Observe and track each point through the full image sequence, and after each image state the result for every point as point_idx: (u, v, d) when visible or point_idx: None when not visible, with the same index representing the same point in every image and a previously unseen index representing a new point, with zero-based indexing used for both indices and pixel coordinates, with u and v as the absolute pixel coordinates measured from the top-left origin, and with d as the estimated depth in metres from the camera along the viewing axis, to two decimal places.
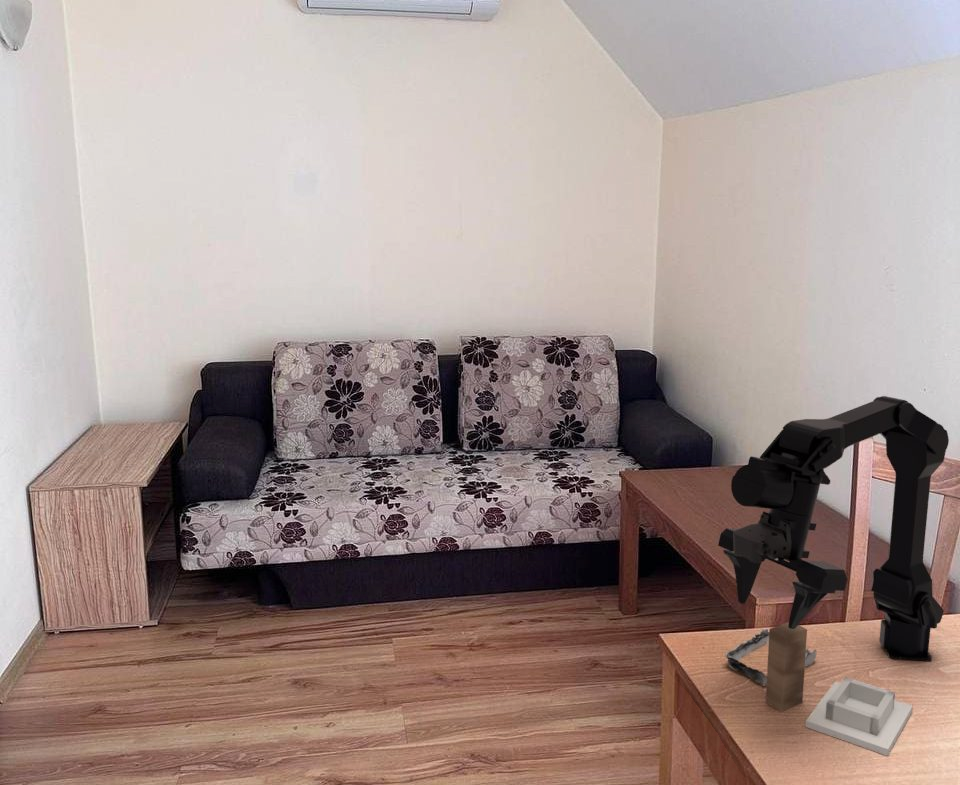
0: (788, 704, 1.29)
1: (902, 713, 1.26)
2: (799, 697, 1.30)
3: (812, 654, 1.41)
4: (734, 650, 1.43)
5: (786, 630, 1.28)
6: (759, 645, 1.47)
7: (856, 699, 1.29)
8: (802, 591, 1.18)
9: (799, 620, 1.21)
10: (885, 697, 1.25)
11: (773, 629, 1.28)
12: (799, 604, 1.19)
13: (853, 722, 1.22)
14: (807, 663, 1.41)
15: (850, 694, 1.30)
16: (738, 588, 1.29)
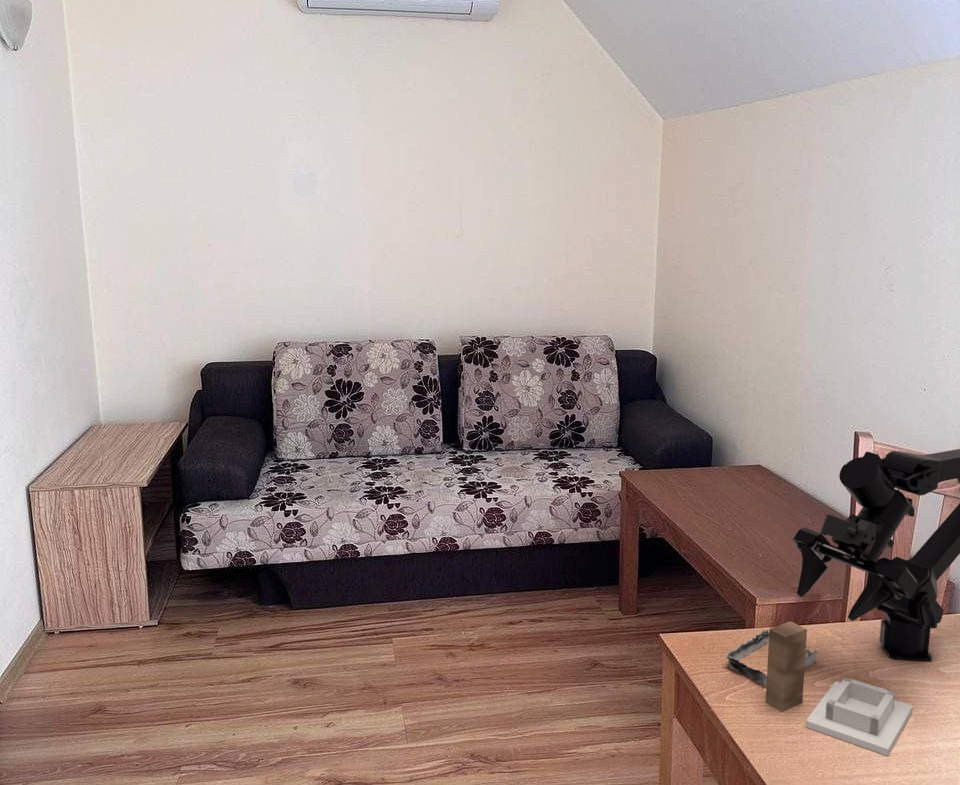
0: (788, 704, 1.29)
1: (902, 713, 1.26)
2: (799, 697, 1.30)
3: (813, 654, 1.41)
4: (735, 651, 1.42)
5: (786, 630, 1.28)
6: (760, 646, 1.47)
7: (856, 699, 1.29)
8: (876, 582, 1.26)
9: (859, 614, 1.28)
10: (885, 697, 1.25)
11: (773, 629, 1.28)
12: (867, 595, 1.27)
13: (853, 722, 1.22)
14: (807, 664, 1.41)
15: (850, 694, 1.30)
16: (801, 580, 1.36)
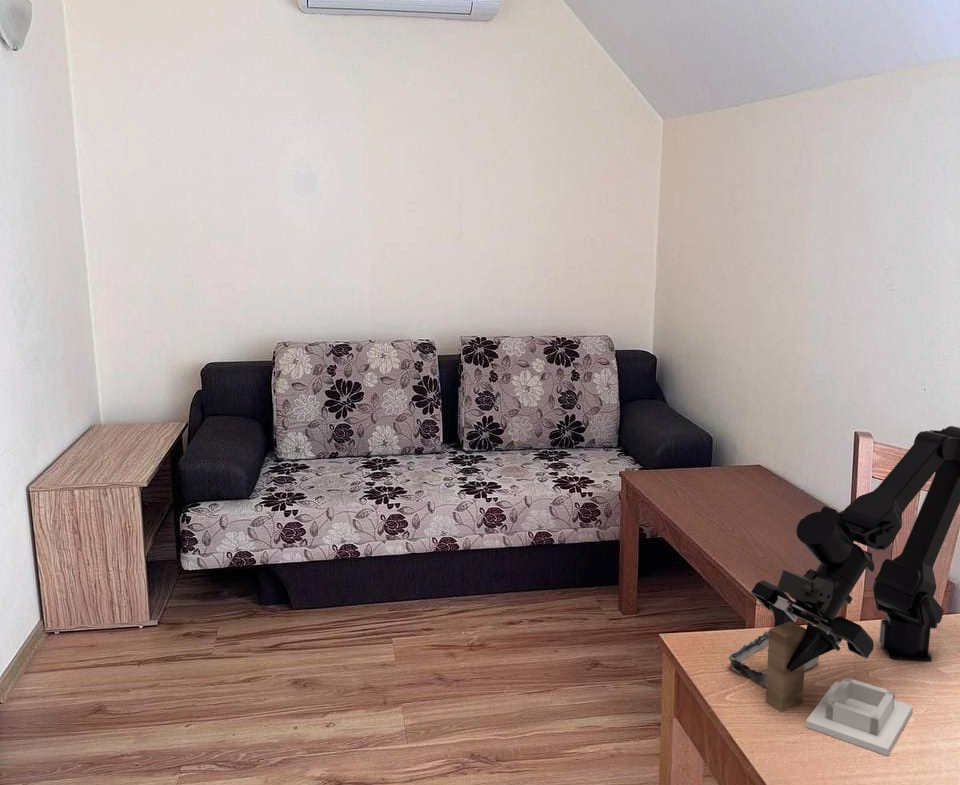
0: (788, 704, 1.29)
1: (902, 713, 1.26)
2: (799, 697, 1.30)
3: None
4: (737, 652, 1.42)
5: (786, 630, 1.28)
6: (762, 647, 1.46)
7: (856, 699, 1.29)
8: (814, 633, 1.26)
9: (798, 665, 1.27)
10: (885, 697, 1.25)
11: (773, 629, 1.28)
12: (805, 646, 1.26)
13: (853, 722, 1.22)
14: (810, 665, 1.40)
15: (850, 694, 1.30)
16: None
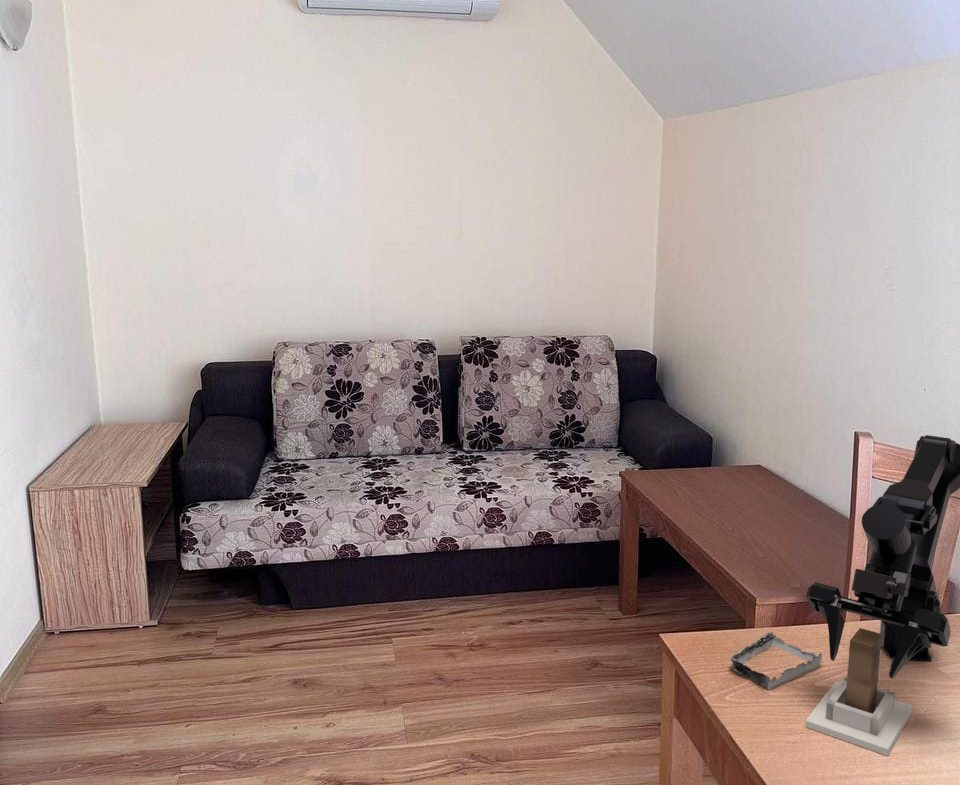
0: None
1: (902, 713, 1.26)
2: (874, 704, 1.26)
3: (818, 658, 1.40)
4: (739, 653, 1.41)
5: (865, 638, 1.23)
6: (764, 648, 1.46)
7: None
8: (914, 634, 1.20)
9: (898, 670, 1.21)
10: (885, 697, 1.25)
11: (854, 640, 1.23)
12: (906, 650, 1.21)
13: (853, 722, 1.22)
14: (812, 667, 1.40)
15: None
16: (831, 642, 1.26)
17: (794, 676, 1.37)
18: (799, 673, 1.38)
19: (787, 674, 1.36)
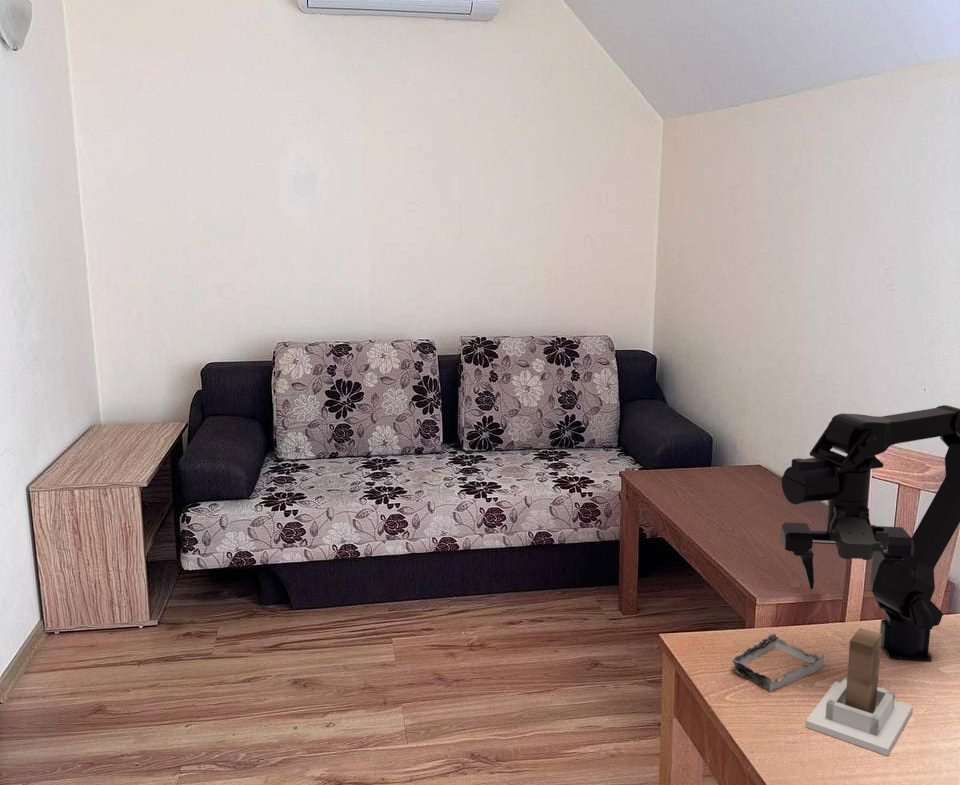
0: None
1: (902, 713, 1.26)
2: (874, 704, 1.26)
3: (820, 660, 1.39)
4: (741, 655, 1.41)
5: (865, 638, 1.23)
6: (766, 650, 1.45)
7: None
8: (892, 561, 1.34)
9: None
10: (885, 697, 1.25)
11: (854, 640, 1.23)
12: (884, 571, 1.35)
13: (853, 722, 1.22)
14: (815, 669, 1.39)
15: None
16: (810, 578, 1.38)
17: (796, 678, 1.37)
18: (801, 674, 1.37)
19: (789, 676, 1.36)
